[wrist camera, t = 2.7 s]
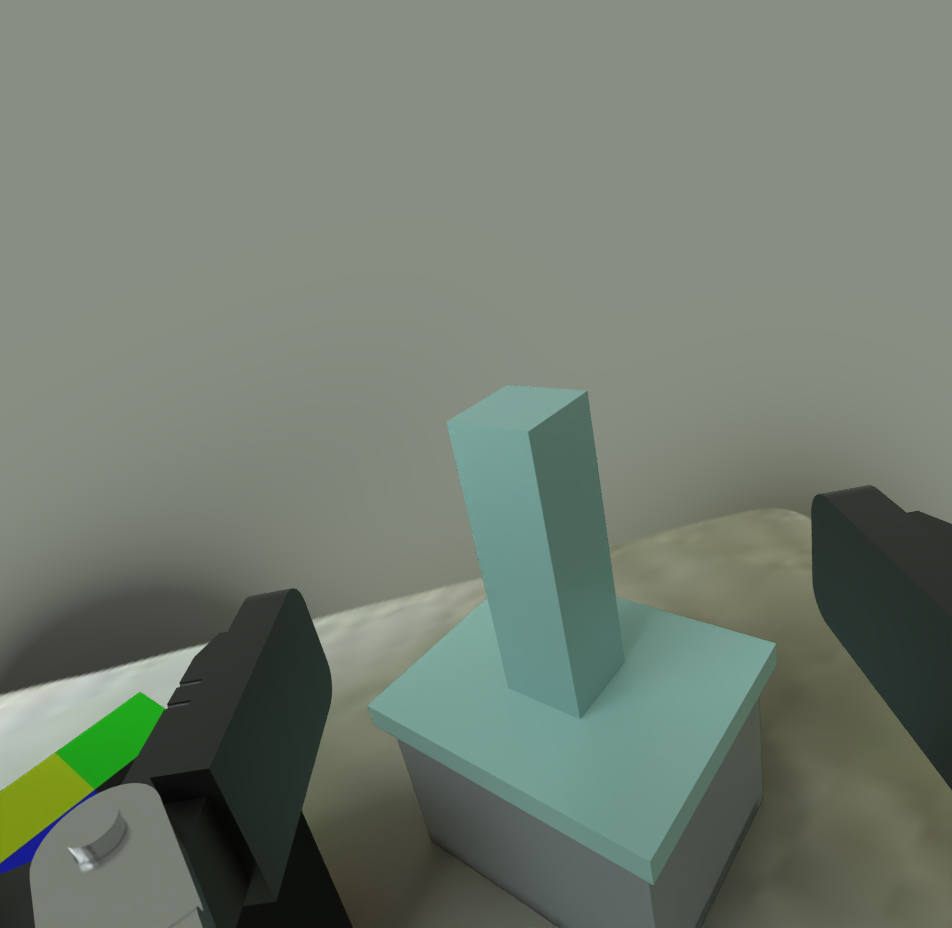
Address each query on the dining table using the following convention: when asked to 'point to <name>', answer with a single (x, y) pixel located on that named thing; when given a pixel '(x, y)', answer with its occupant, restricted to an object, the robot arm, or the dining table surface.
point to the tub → (583, 870)
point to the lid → (570, 652)
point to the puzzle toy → (105, 766)
